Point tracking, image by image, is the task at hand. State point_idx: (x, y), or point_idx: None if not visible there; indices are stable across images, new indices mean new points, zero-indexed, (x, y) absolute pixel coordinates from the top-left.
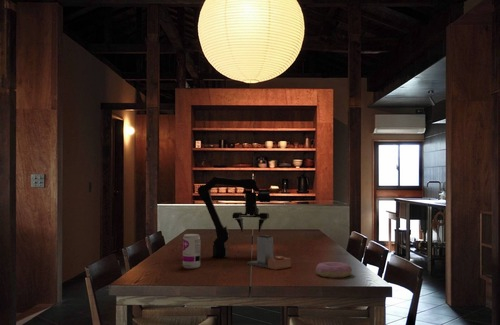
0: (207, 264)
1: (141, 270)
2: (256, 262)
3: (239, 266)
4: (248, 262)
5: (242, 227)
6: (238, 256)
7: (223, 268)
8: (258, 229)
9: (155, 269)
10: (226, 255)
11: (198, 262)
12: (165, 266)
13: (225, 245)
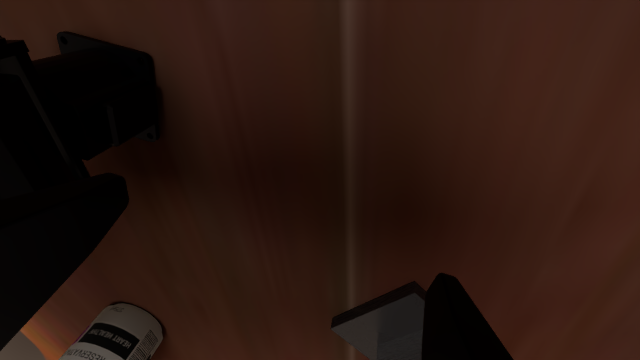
0: (166, 292)
1: (41, 333)
2: (374, 346)
3: (302, 342)
4: (335, 330)
5: (55, 251)
6: (241, 71)
7: (250, 356)
8: (421, 357)
9: (63, 330)
10: (154, 92)
11: (153, 352)
12: (55, 300)
13: (86, 123)
